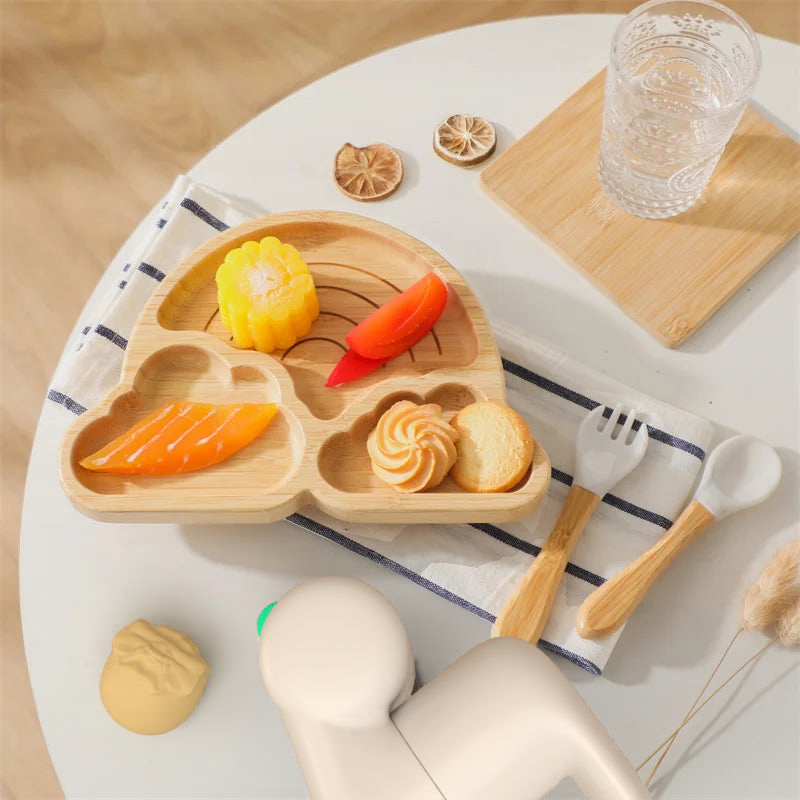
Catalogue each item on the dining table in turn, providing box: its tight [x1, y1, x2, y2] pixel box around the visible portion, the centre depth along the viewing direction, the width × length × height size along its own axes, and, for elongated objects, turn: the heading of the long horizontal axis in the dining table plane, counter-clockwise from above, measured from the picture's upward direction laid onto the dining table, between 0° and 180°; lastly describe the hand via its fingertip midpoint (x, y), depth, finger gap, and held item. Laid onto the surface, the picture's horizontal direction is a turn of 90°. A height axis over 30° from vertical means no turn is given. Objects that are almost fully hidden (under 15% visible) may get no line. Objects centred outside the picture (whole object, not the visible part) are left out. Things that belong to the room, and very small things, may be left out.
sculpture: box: [99, 618, 212, 737], centre depth 104 cm, size 12×12×11 cm
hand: (373, 687), depth 72 cm, fingers closed on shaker, 4 cm apart
